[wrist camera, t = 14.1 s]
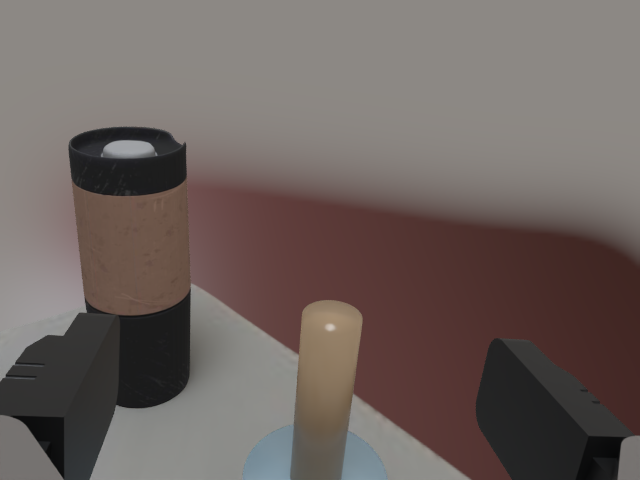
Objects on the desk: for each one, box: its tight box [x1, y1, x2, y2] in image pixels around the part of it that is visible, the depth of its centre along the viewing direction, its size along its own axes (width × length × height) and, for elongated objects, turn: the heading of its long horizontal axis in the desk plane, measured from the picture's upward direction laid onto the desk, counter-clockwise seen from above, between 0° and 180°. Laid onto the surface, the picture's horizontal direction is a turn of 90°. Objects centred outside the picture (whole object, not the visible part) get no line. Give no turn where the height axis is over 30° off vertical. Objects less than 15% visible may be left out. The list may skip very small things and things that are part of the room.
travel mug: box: [69, 127, 191, 408], centre depth 42 cm, size 8×8×20 cm
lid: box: [243, 300, 388, 480], centre depth 31 cm, size 8×8×12 cm
